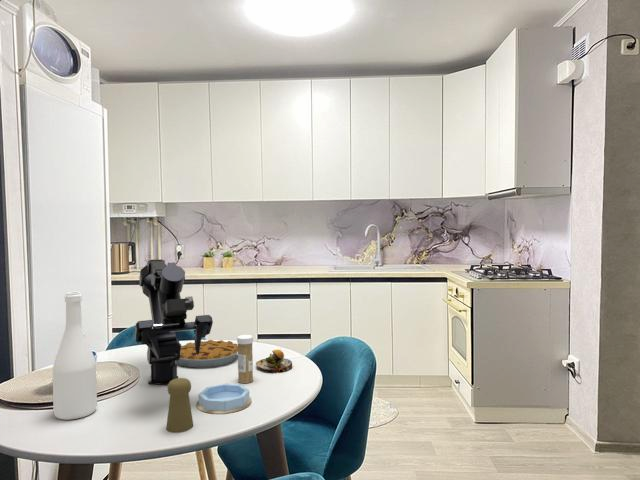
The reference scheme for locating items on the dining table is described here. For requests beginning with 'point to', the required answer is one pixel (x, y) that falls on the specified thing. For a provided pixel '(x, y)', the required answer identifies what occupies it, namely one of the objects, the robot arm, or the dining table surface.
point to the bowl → (224, 397)
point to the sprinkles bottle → (245, 358)
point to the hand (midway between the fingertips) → (179, 356)
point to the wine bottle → (74, 367)
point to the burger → (275, 362)
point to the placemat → (223, 411)
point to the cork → (179, 406)
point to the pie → (208, 354)
